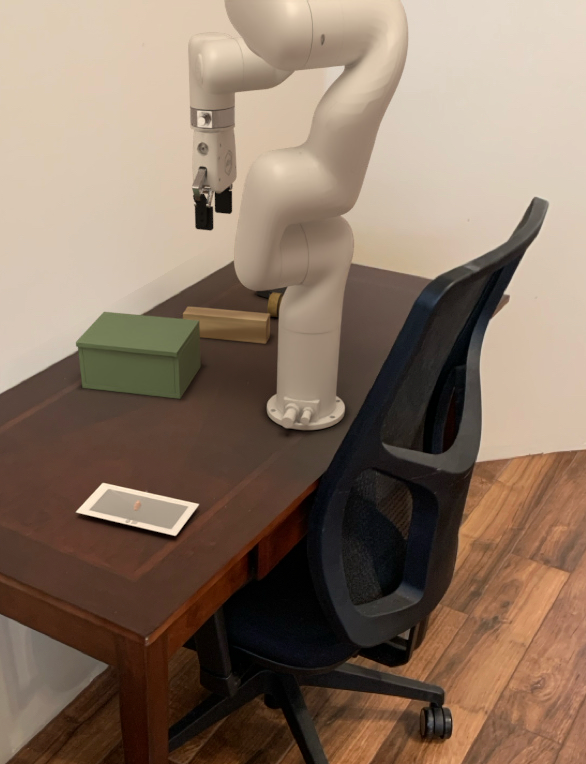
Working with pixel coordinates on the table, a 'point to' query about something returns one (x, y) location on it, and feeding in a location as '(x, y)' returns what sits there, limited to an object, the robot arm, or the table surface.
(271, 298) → the gavel
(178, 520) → the touchpad
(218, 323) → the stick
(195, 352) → the box
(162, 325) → the box lid
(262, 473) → the table surface
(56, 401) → the table surface
